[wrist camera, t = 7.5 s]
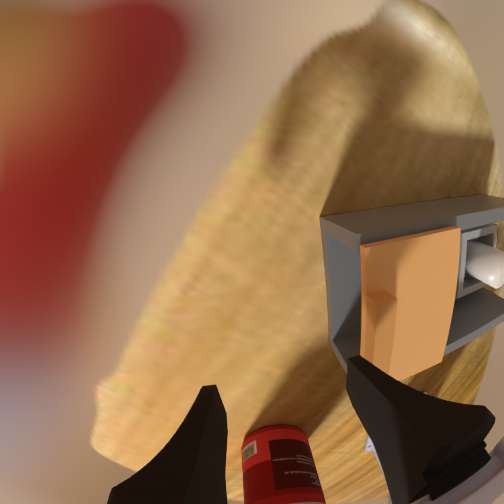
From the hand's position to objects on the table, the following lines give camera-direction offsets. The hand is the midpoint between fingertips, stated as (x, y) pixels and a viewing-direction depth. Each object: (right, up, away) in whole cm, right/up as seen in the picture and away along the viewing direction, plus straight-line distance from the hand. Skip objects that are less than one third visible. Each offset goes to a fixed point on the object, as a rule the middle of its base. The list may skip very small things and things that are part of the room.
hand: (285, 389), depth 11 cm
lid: (+8, +2, +3) cm, 9 cm away
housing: (+14, +5, +10) cm, 18 cm away
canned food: (+1, -16, +15) cm, 22 cm away
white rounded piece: (+19, +6, +9) cm, 22 cm away
